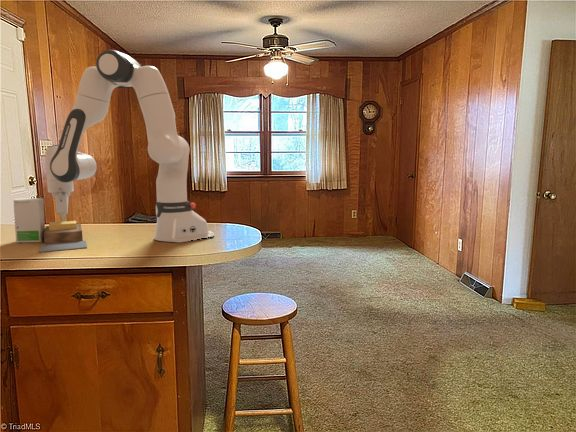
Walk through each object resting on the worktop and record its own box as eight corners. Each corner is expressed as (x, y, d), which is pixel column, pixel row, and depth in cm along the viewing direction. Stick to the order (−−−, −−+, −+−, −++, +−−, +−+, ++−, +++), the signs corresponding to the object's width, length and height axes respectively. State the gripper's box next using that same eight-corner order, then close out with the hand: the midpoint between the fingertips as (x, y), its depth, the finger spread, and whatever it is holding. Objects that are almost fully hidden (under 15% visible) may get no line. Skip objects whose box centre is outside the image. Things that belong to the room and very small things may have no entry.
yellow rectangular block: (76, 225, 159) (76, 220, 159) (77, 228, 154) (76, 223, 153) (49, 227, 155) (49, 222, 154) (49, 230, 150) (48, 225, 149)
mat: (85, 241, 150) (85, 240, 150) (87, 248, 140) (87, 246, 140) (41, 245, 143) (41, 244, 143) (39, 252, 134) (39, 251, 134)
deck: (81, 233, 164) (80, 223, 163) (82, 241, 150) (81, 230, 149) (46, 236, 158) (45, 226, 158) (44, 245, 144) (43, 233, 144)
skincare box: (15, 243, 147) (11, 200, 144) (21, 239, 153) (17, 197, 150) (42, 242, 149) (38, 199, 146) (47, 238, 155) (43, 197, 153)
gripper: (70, 189, 150) (73, 226, 152) (70, 185, 167) (72, 218, 170) (50, 190, 147) (53, 228, 149) (52, 185, 164) (55, 219, 167)
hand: (63, 222), depth 159 cm, fingers closed
